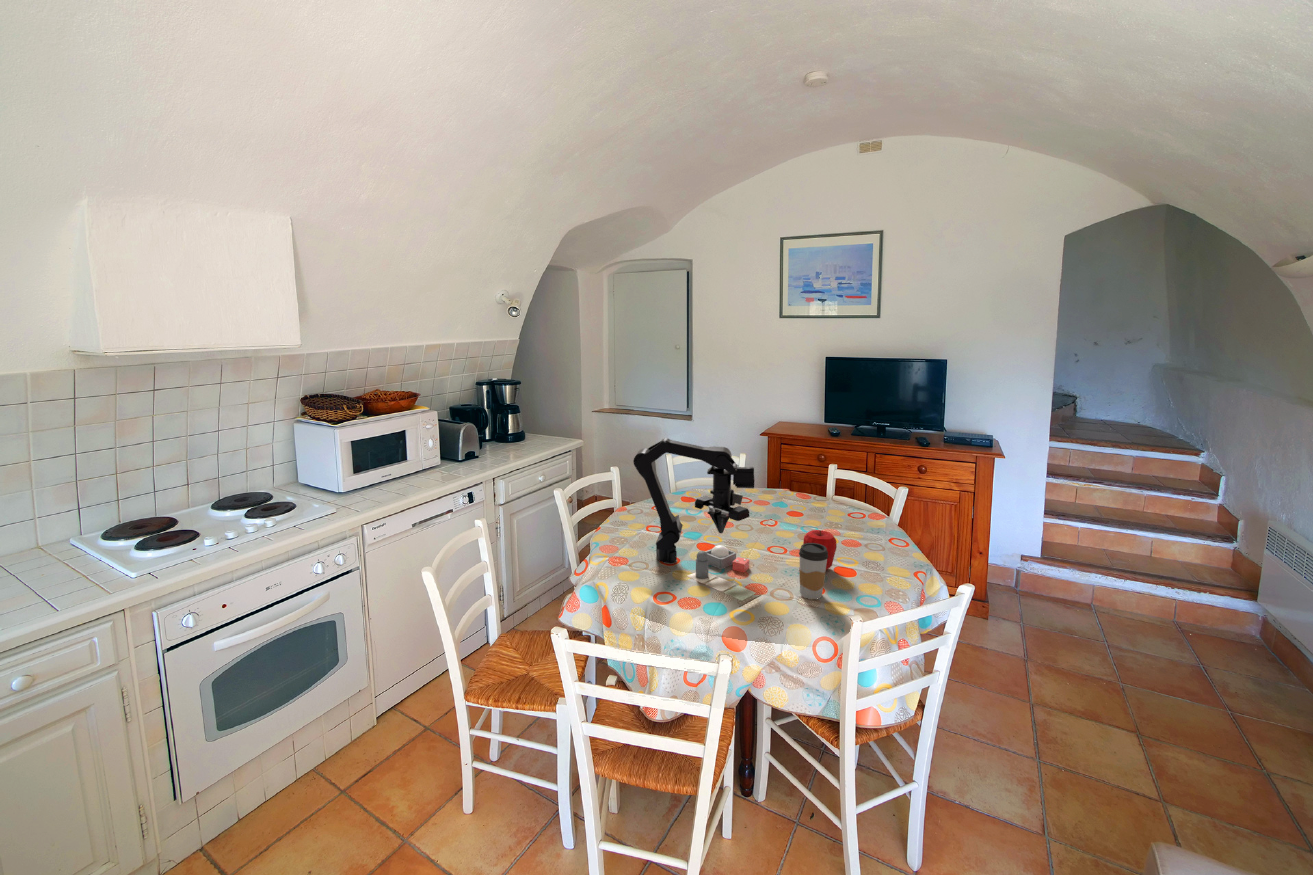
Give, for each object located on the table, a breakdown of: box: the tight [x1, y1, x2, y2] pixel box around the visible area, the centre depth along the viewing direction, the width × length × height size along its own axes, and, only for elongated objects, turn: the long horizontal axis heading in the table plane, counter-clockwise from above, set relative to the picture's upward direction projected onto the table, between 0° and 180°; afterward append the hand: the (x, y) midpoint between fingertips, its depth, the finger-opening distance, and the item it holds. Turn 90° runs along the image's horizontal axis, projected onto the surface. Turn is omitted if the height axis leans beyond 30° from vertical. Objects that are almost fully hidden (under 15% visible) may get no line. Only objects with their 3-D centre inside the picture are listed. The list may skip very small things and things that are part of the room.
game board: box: [686, 571, 762, 608], centre depth 183 cm, size 23×10×1 cm, turn 44°
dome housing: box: [705, 548, 737, 570], centre depth 198 cm, size 8×8×4 cm
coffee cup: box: [798, 543, 828, 600], centre depth 177 cm, size 8×8×15 cm
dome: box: [711, 544, 729, 558], centre depth 198 cm, size 6×6×6 cm
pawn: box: [695, 550, 710, 579], centre depth 187 cm, size 4×4×8 cm
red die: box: [732, 556, 750, 573], centre depth 193 cm, size 4×4×4 cm
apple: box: [802, 529, 838, 571], centre depth 194 cm, size 11×10×14 cm
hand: (720, 532), depth 196 cm, fingers closed
